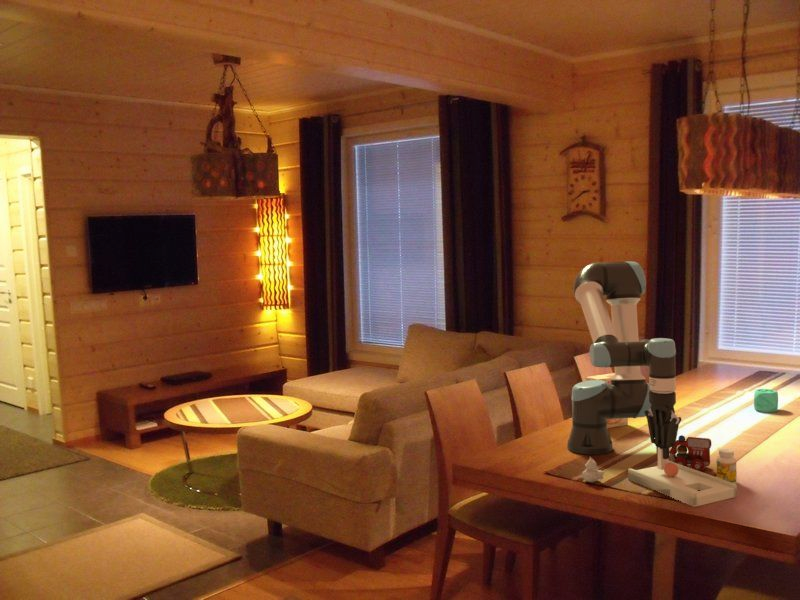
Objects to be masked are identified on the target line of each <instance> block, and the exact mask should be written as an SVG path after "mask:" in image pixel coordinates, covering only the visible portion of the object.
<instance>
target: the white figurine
mask: <svg viewBox="0 0 800 600" xmlns="http://www.w3.org/2000/svg"><path fill="white" fill-rule="evenodd" d="M597 464H598V463H597V462H596V460H594V458H592V457H591V456H589V459H588V460H587V461H586V463H585V464H584V466H585V469H584V471H582V472H581V473H582V474H581V475H582V478H583V480H584V481H586V482H588V483H596V482H597V481H598V480H600V481H601V480H603V479H604V475H605V471H604V470H601V469H600V470H599V469H598V465H597Z"/></svg>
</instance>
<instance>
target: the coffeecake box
mask: <svg viewBox="0 0 800 600" xmlns="http://www.w3.org/2000/svg"><path fill="white" fill-rule="evenodd" d="M614 374H615V372H612V373H606V374H598V375H597V374H596V375H591V376H586V377H585V381H589V380H603V381H605V382H606V383H607V385H611V378H612V377H613V376H614ZM628 425H629V418H611V419H607V429H611V428H616V427H621V426H622V427H623V426H628Z"/></svg>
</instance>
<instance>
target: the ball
mask: <svg viewBox="0 0 800 600" xmlns="http://www.w3.org/2000/svg"><path fill="white" fill-rule="evenodd" d="M664 472H665V474H666V475H668V476H670V477H674V476H676V475H677V474H678V467H677V465H675V464H674V463H668V464H666V465H665V467H664Z"/></svg>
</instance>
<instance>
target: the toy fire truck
mask: <svg viewBox="0 0 800 600" xmlns="http://www.w3.org/2000/svg"><path fill="white" fill-rule="evenodd" d="M711 448H712V439H710V438H709V437H708V438H707V437H696V436H695V437H694V436H688V437H687V438H686V437H685V435H682V434H681V435H679V436H678V439H676V443H675V447H670V449H669V461H672V462H674V463H677V464H680V465H683V466H686V467H688V466H689V465H690V468H692V469H694V470H697V471H700V472H703V471H704V470H705V468H707V467H709V466H710V465H711Z"/></svg>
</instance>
